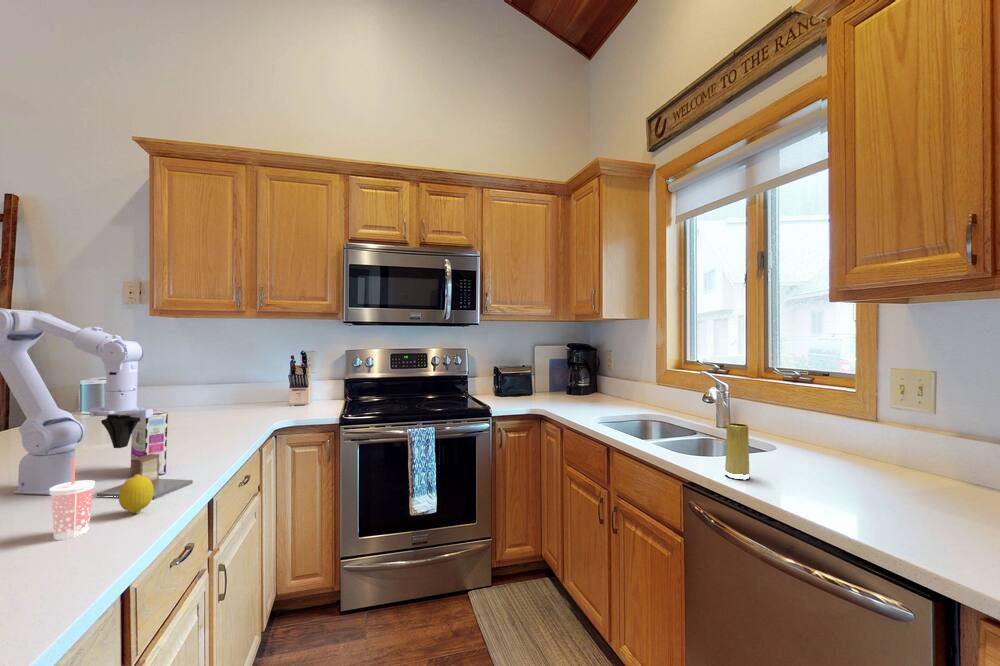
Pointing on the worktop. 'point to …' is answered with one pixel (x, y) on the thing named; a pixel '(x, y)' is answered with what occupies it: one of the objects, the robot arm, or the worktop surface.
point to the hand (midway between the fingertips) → (120, 447)
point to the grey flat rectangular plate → (159, 489)
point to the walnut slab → (146, 467)
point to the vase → (737, 449)
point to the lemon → (136, 493)
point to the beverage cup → (71, 506)
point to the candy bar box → (151, 438)
